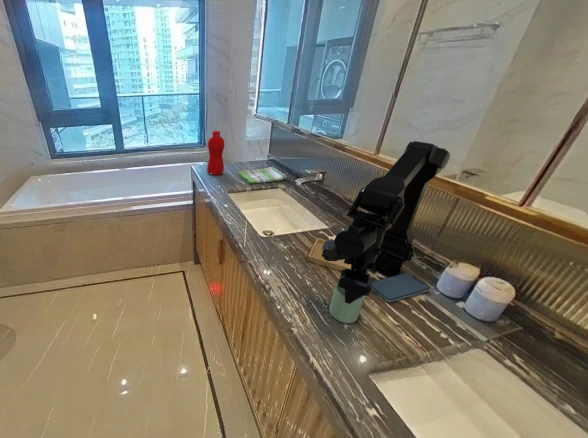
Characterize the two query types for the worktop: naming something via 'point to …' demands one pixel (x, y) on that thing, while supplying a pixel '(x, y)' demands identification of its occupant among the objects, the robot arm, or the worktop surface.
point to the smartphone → (398, 287)
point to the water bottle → (215, 154)
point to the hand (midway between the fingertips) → (350, 291)
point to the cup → (344, 306)
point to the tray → (317, 257)
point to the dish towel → (262, 175)
